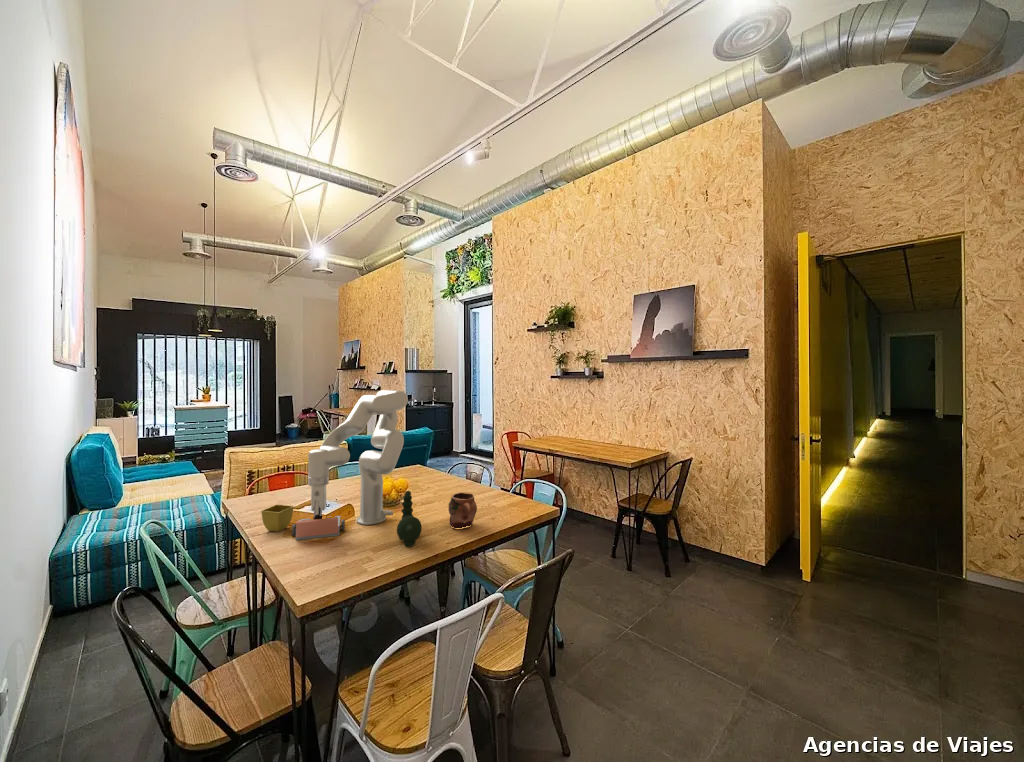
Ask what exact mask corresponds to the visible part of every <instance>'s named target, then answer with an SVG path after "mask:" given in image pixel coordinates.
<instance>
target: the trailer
mask: <svg viewBox="0 0 1024 762" xmlns="http://www.w3.org/2000/svg"><path fill="white" fill-rule="evenodd" d="M334 516H335V517H334V518H336V517H338V531H339V534H332V535H323V536H313V537H304V538H296V536H297V534H296V523H293V524H292V525H291V536H295V541H301V540H310V539H319V538H320V539H321V538H329V537H339V536H340V535H341V533H340V531H345V528H346V527H345V526H346V519H345V518H344V519H341V515H334ZM303 520H311V519H310V518H302V519H299V520H298V521H303Z"/></svg>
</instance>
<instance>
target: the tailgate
mask: <svg viewBox="0 0 1024 762" xmlns="http://www.w3.org/2000/svg"><path fill="white" fill-rule="evenodd" d="M295 524H296V534H297V536H296V535H295V539H296V538H304V537H313V536H323V535H332V534H339V531H338V517H336V518H325V519H314V520H303V521H299V520H296V521H295ZM339 535H340V534H339Z"/></svg>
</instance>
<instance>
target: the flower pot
mask: <svg viewBox="0 0 1024 762" xmlns="http://www.w3.org/2000/svg"><path fill="white" fill-rule="evenodd" d="M260 512H261V518H262V519H261V520H262V523H263V526H264V527H265V528H266V530H267V531H270V532H280V531H283V530H284V529H287V528H288V526H289V525H290V523H291V521H292V518H293V513H294V505H286V504H275V505H273V506H270V507H267V508H264V509H261V511H260Z"/></svg>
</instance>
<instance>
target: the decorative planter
mask: <svg viewBox="0 0 1024 762" xmlns="http://www.w3.org/2000/svg"><path fill="white" fill-rule="evenodd" d="M477 511H478V506H477V503H476V500H475V496H474V494H473V493H468V492H467V493H466V492H457V493H456V492H455V493H453V494H452V495H451V497H450V501H449V503H448V513H449V515H450V516H449V525H451V526H452V527H454V528H462V527H466V526H470V525H472V526H473V523H474V519H475V517H476V514H477ZM451 526H450V527H451Z"/></svg>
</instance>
